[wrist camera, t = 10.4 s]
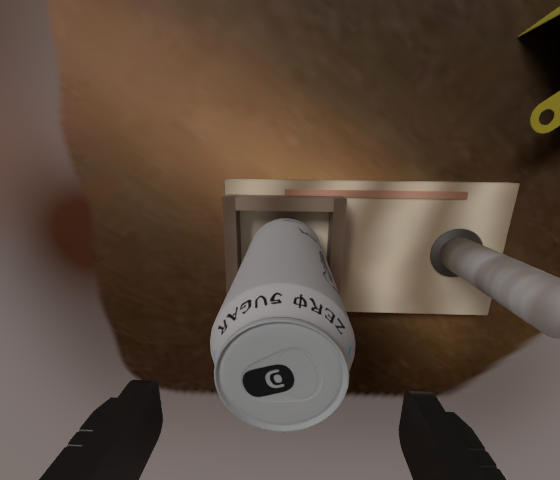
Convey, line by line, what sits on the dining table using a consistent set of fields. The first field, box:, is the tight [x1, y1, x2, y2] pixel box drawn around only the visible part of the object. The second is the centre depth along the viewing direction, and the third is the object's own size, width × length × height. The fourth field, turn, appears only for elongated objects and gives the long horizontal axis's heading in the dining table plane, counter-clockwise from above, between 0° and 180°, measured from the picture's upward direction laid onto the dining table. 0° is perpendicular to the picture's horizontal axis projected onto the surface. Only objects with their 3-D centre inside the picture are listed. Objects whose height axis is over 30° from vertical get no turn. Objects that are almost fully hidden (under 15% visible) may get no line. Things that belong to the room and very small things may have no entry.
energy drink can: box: [210, 218, 355, 432], centre depth 17 cm, size 6×6×15 cm
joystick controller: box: [222, 179, 560, 338], centre depth 20 cm, size 24×12×11 cm, turn 89°
